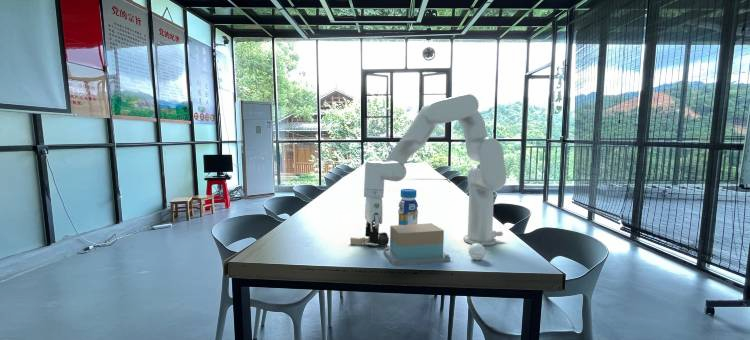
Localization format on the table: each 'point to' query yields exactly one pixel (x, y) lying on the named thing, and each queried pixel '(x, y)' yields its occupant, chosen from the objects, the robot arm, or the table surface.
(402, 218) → the beverage bottle
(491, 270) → the table surface
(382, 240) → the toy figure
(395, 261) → the tan and blue box
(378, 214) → the robot arm
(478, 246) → the white sphere
